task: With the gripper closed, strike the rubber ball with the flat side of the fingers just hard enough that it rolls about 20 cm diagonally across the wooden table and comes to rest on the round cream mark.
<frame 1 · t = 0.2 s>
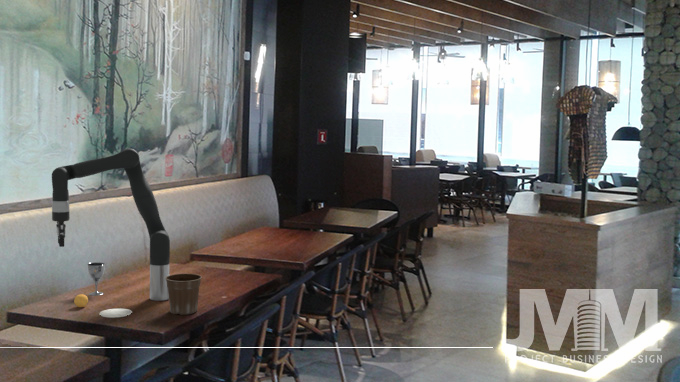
hand: (61, 245, 327), 27 cm above the table, tool pointing down, fingers open, 8 cm apart
plant pot: (183, 312, 321), on the table
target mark: (115, 313, 315), on the table
ball: (81, 300, 323), on the table
wine glass: (96, 294, 348), on the table
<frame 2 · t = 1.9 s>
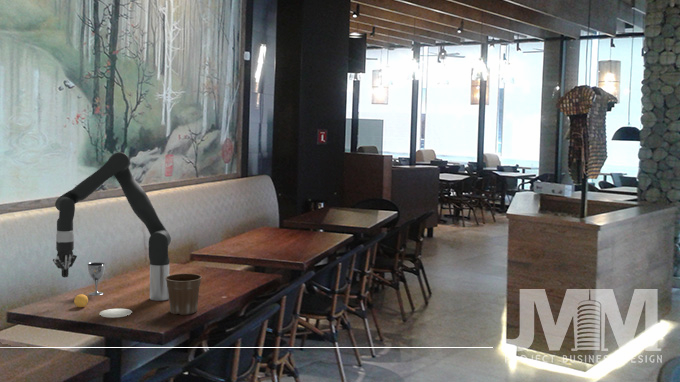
hand: (65, 276, 326), 13 cm above the table, tool pointing down, fingers closed
nothing on the table moved.
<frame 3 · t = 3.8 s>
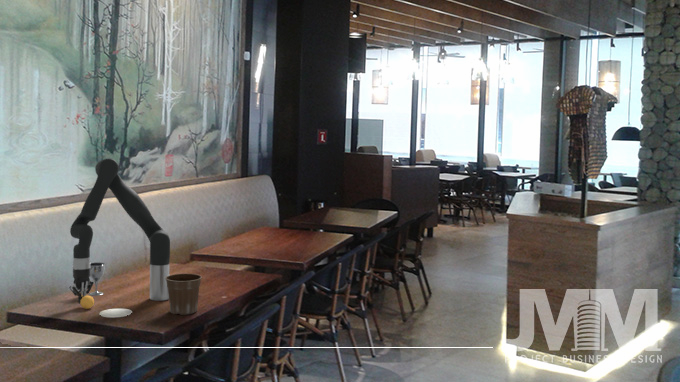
hand: (81, 303, 323), 1 cm above the table, tool pointing down, fingers closed
ball: (87, 302, 321), on the table
everything else where it was.
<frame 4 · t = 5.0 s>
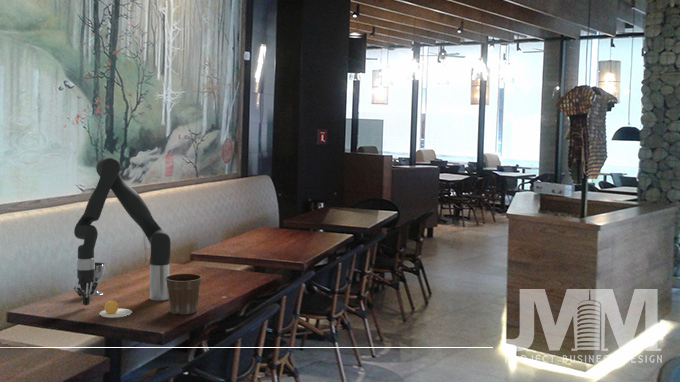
hand: (86, 304, 322), 2 cm above the table, tool pointing down, fingers closed
ball: (111, 307, 314), on the table
everything else where it was.
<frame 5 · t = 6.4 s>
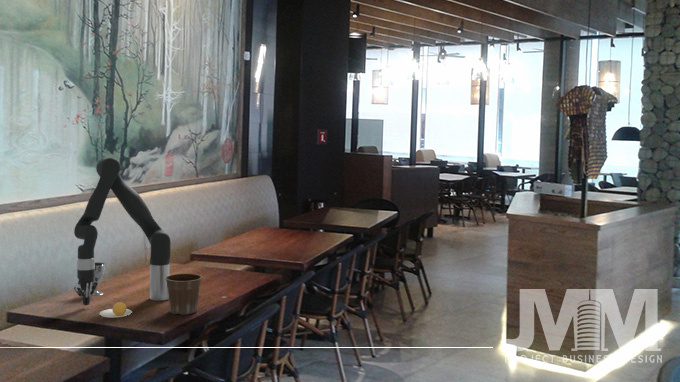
hand: (86, 304, 322), 2 cm above the table, tool pointing down, fingers closed
ball: (119, 308, 311), on the table
everything else where it was.
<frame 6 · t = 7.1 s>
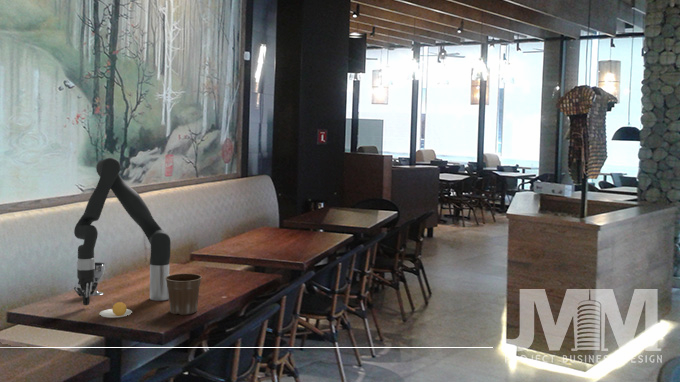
hand: (86, 304, 322), 2 cm above the table, tool pointing down, fingers closed
nothing on the table moved.
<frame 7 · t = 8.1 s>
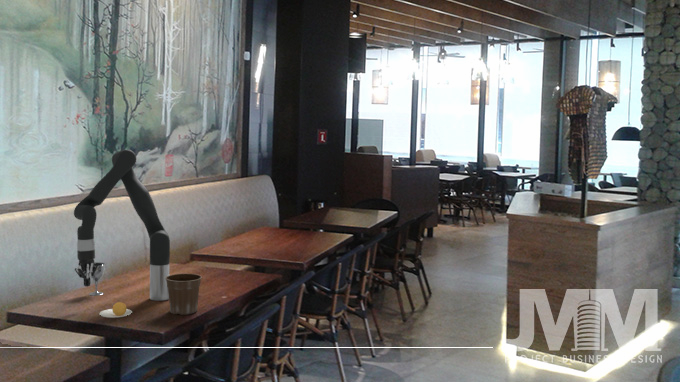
hand: (87, 286, 320), 10 cm above the table, tool pointing down, fingers closed
nothing on the table moved.
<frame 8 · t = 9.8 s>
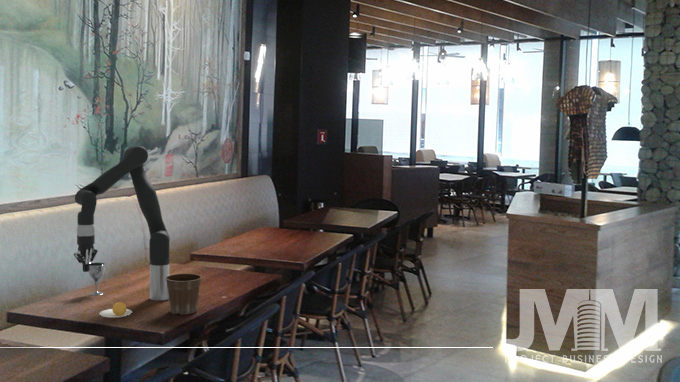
hand: (86, 271, 320), 17 cm above the table, tool pointing down, fingers closed
nothing on the table moved.
at the end: ball 4.5 cm from the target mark (horizontally); ball at rest at the end (0.0 cm/s); ball moved 24.0 cm from its start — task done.
